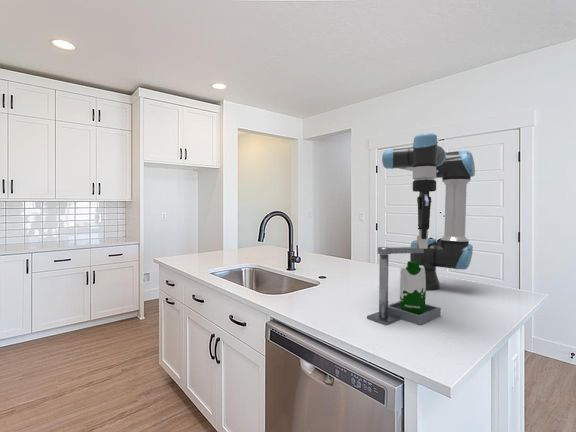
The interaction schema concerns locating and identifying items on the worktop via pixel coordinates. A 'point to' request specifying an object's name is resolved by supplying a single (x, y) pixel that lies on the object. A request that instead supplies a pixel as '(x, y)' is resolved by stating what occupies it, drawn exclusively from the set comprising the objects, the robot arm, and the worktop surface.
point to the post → (383, 295)
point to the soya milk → (413, 288)
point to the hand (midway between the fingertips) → (423, 248)
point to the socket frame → (428, 314)
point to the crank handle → (401, 249)
